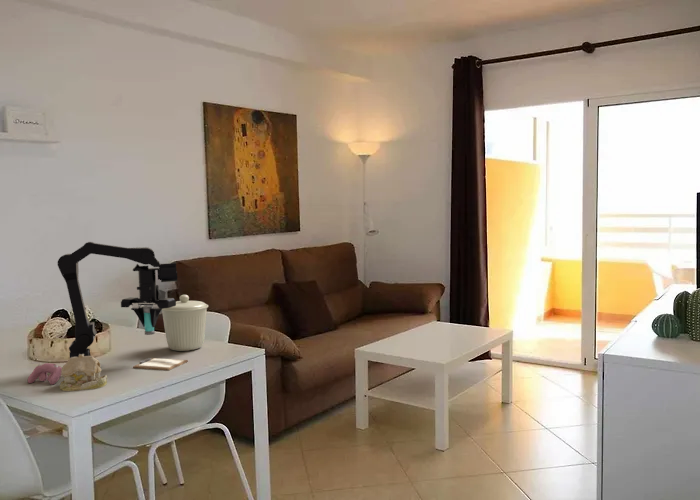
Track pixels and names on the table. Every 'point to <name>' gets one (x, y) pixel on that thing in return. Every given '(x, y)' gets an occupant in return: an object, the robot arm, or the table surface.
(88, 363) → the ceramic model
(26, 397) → the table surface
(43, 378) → the pink lumpy arch
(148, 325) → the marker
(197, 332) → the canister
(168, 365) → the clipboard
